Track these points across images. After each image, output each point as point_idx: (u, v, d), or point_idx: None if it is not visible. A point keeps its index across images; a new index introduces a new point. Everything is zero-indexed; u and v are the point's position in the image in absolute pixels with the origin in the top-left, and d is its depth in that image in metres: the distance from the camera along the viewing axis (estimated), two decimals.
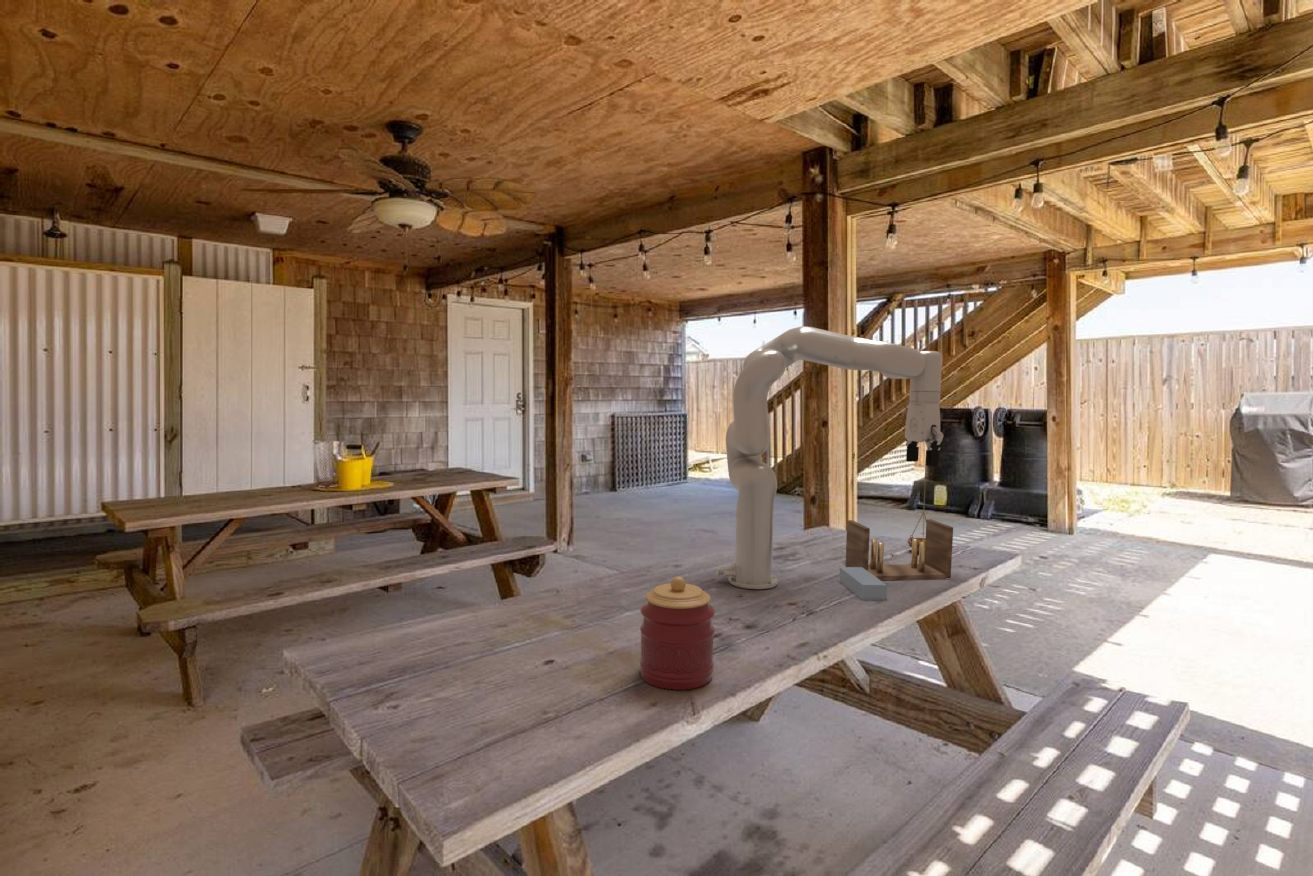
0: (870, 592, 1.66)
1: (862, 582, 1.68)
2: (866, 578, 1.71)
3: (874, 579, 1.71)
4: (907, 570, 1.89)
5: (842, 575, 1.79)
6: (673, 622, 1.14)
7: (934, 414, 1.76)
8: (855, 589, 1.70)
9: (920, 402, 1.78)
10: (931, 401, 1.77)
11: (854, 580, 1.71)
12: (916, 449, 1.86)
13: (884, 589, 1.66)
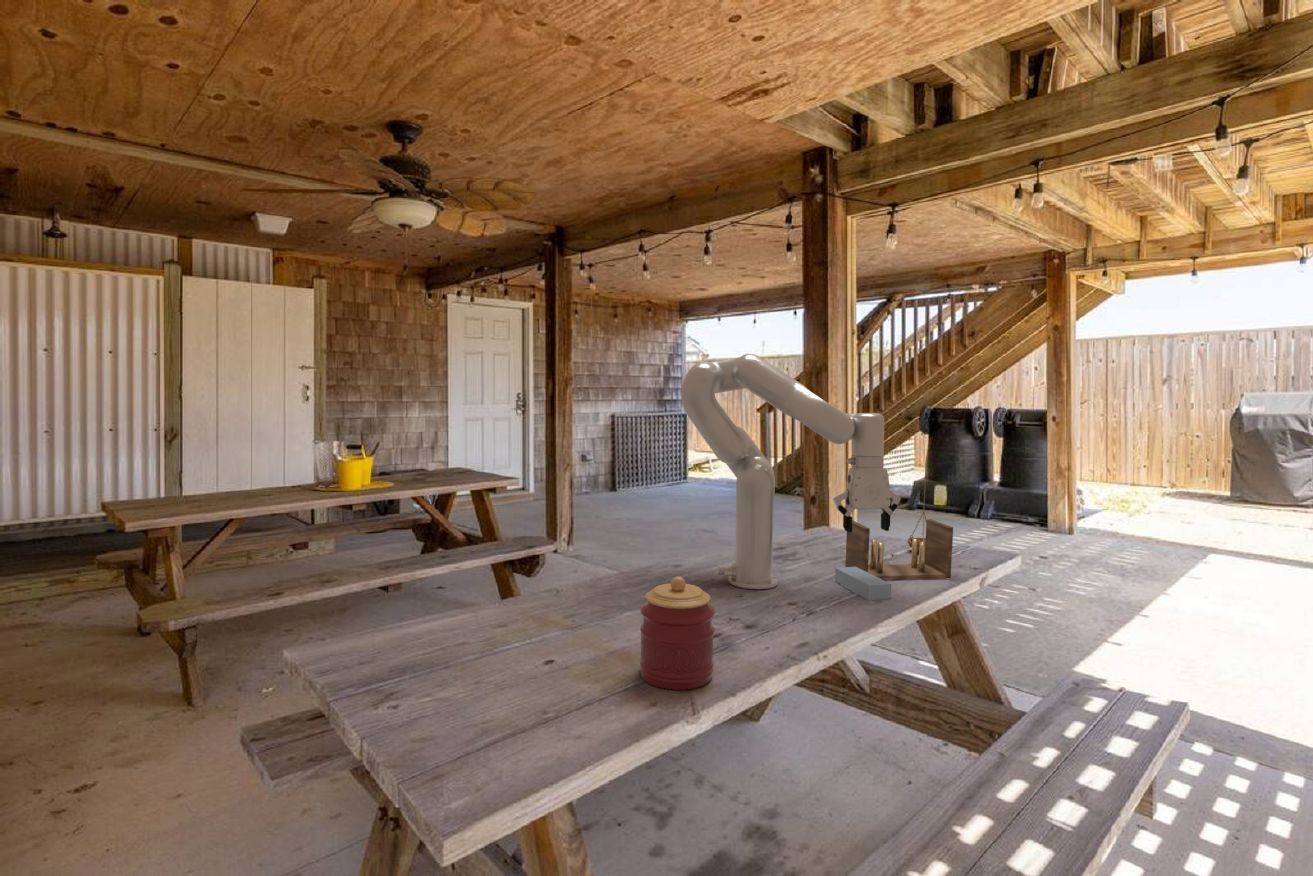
0: (876, 592, 1.66)
1: (866, 582, 1.68)
2: (868, 578, 1.71)
3: (876, 579, 1.71)
4: (907, 570, 1.89)
5: (839, 576, 1.79)
6: (673, 622, 1.14)
7: None
8: (859, 589, 1.70)
9: (882, 467, 1.69)
10: None
11: (857, 581, 1.70)
12: None
13: (889, 588, 1.67)
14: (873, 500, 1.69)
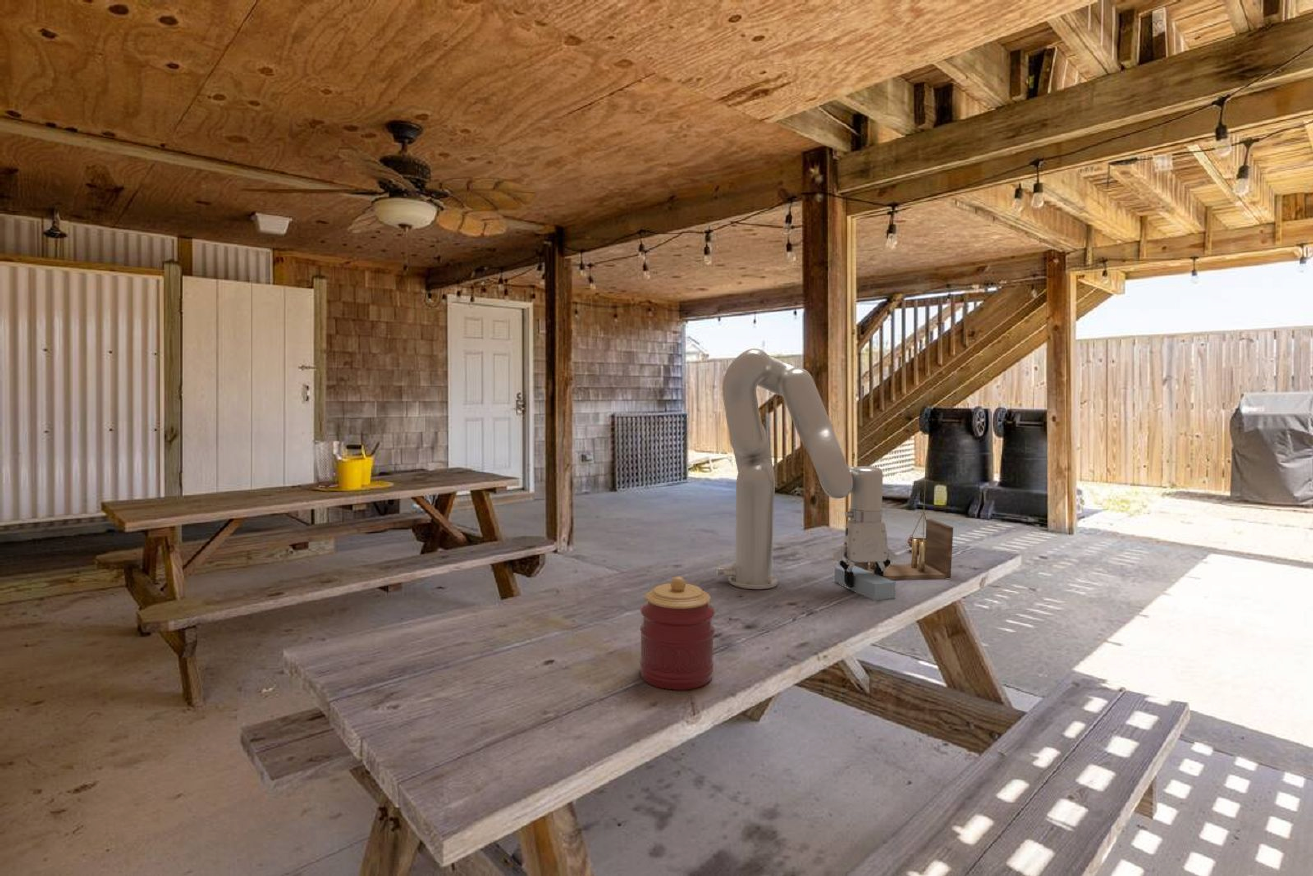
0: (881, 591, 1.66)
1: (871, 581, 1.68)
2: (870, 577, 1.71)
3: (878, 577, 1.71)
4: (907, 570, 1.89)
5: (839, 575, 1.78)
6: (673, 621, 1.14)
7: None
8: (863, 588, 1.69)
9: (880, 521, 1.70)
10: None
11: (860, 580, 1.70)
12: None
13: (893, 586, 1.67)
14: (870, 554, 1.71)
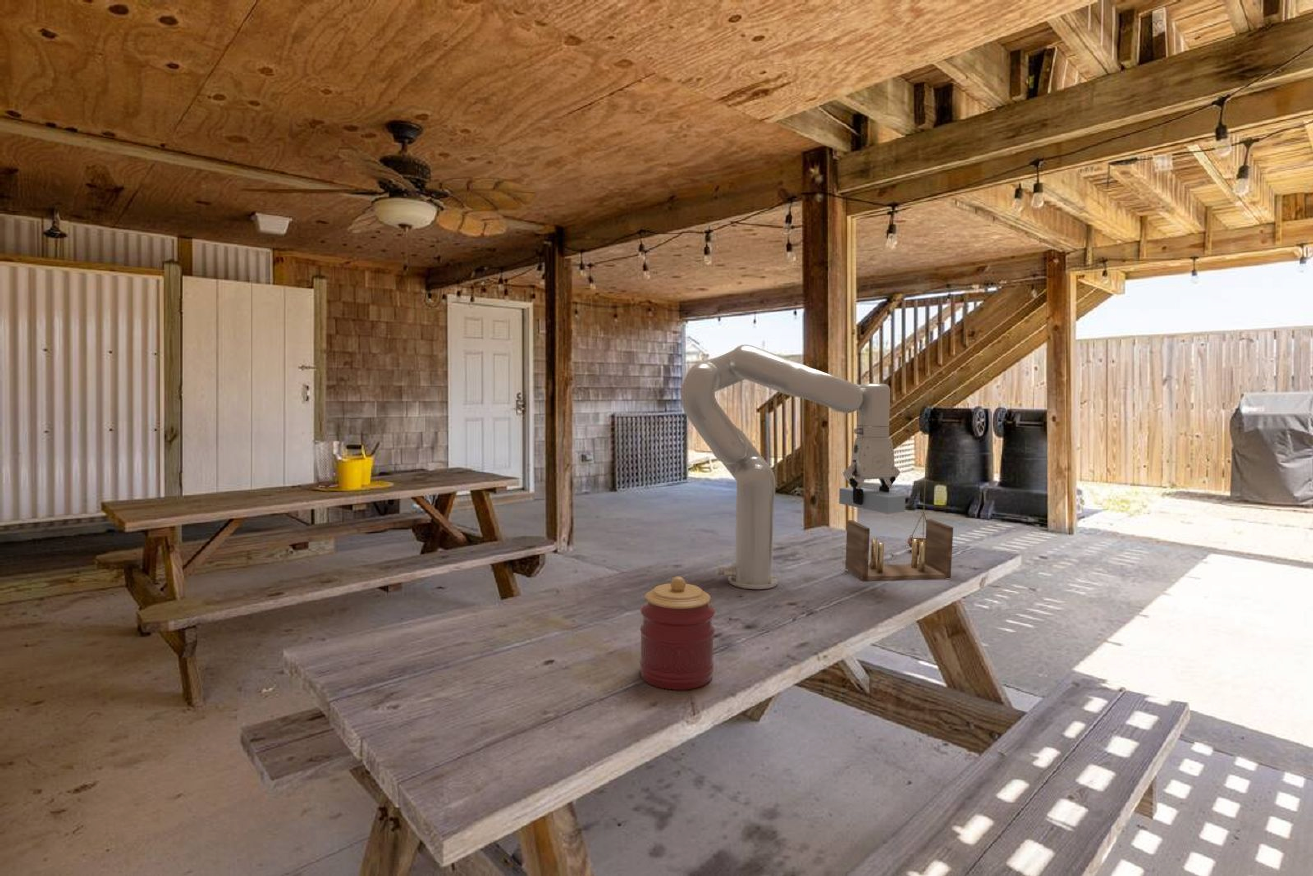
0: (893, 504, 1.67)
1: (882, 495, 1.68)
2: (879, 493, 1.72)
3: (887, 493, 1.72)
4: (907, 570, 1.89)
5: (845, 495, 1.77)
6: (673, 621, 1.14)
7: None
8: (874, 504, 1.69)
9: (888, 437, 1.71)
10: None
11: (871, 496, 1.70)
12: None
13: (904, 500, 1.68)
14: (879, 470, 1.71)
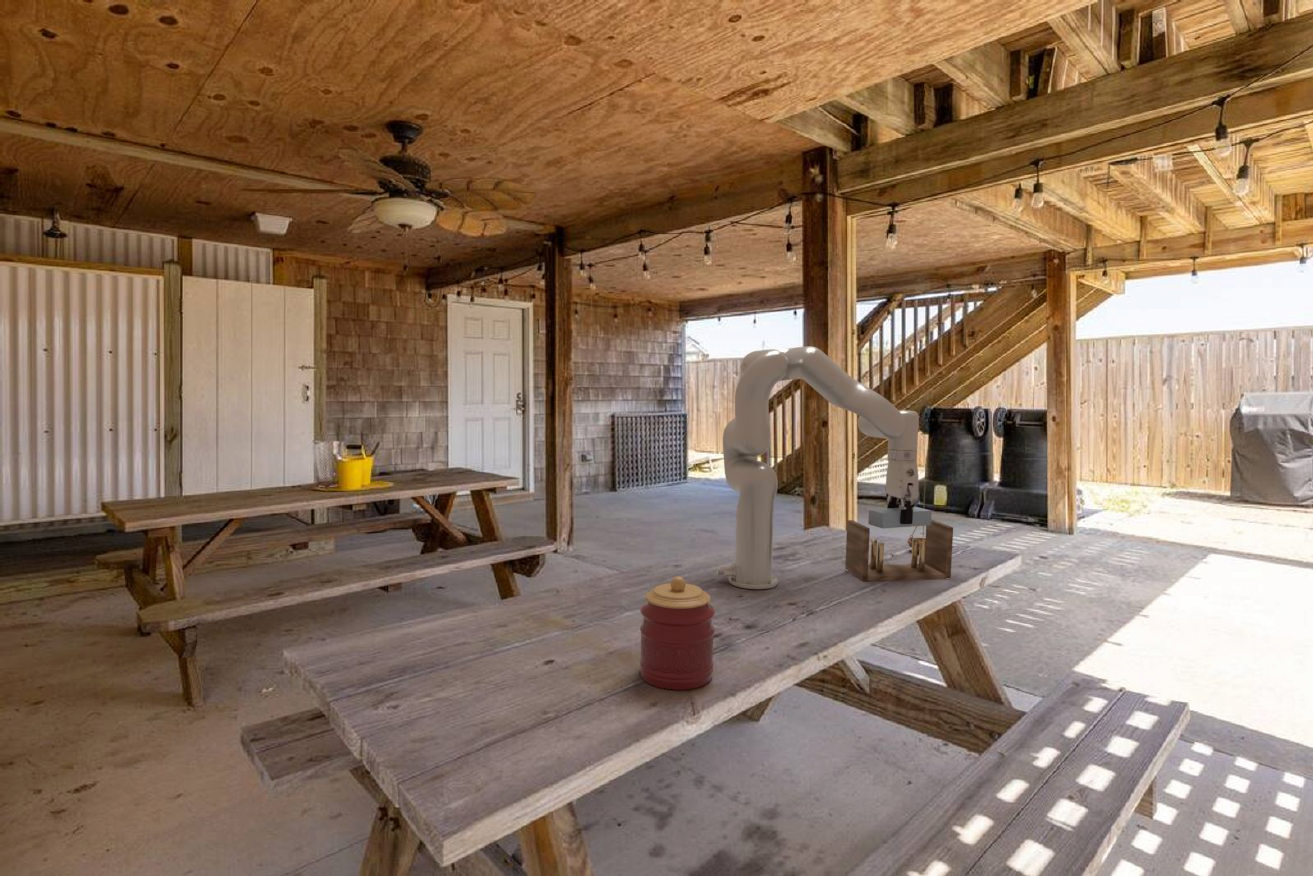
0: None
1: (922, 510, 1.88)
2: None
3: None
4: (907, 570, 1.89)
5: (890, 519, 1.83)
6: (673, 622, 1.14)
7: None
8: (918, 520, 1.86)
9: None
10: None
11: (915, 513, 1.86)
12: None
13: None
14: None
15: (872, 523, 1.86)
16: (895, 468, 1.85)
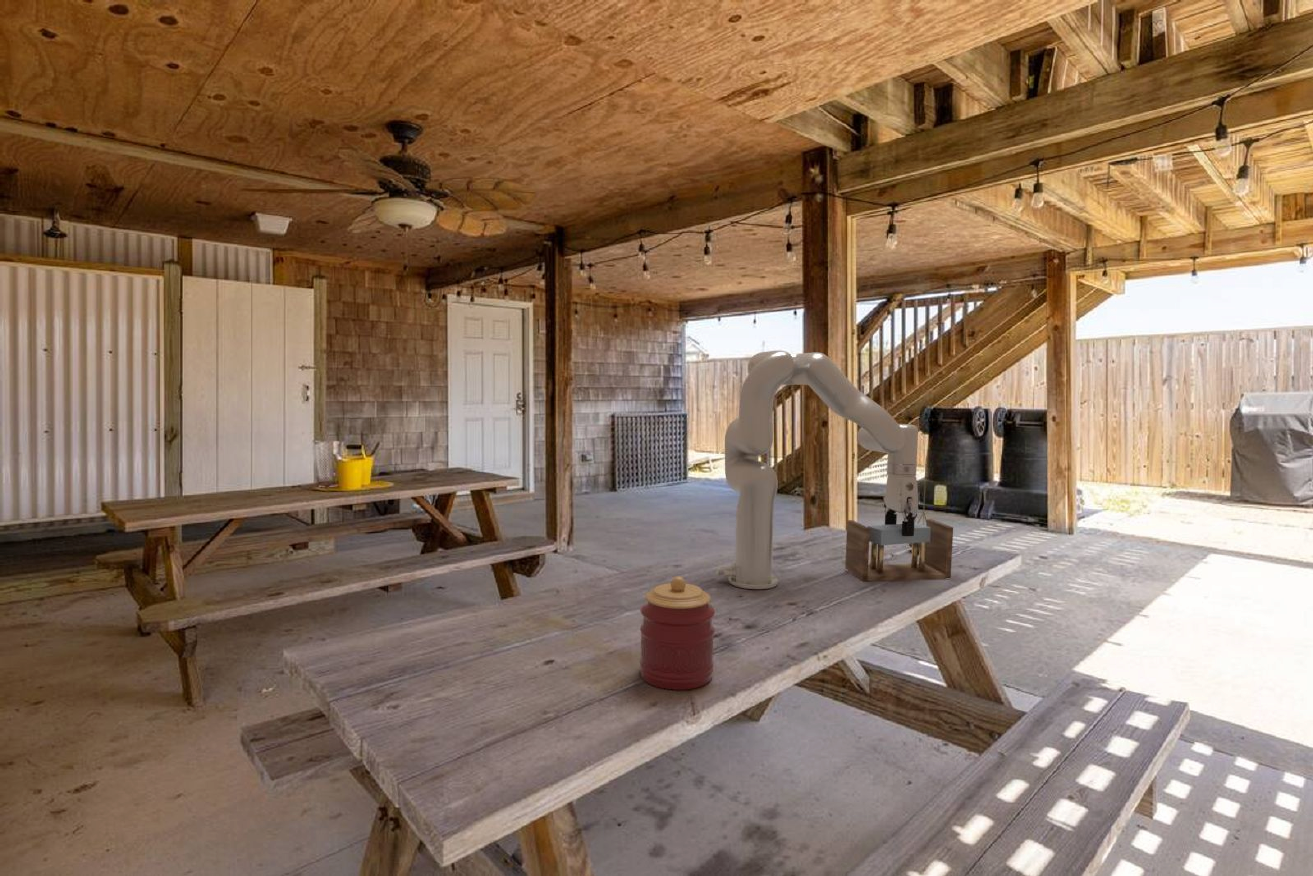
0: None
1: (921, 527, 1.88)
2: None
3: None
4: (907, 570, 1.89)
5: (888, 535, 1.83)
6: (673, 622, 1.14)
7: None
8: (917, 536, 1.87)
9: None
10: None
11: (914, 530, 1.86)
12: None
13: None
14: None
15: (870, 539, 1.87)
16: (895, 482, 1.85)
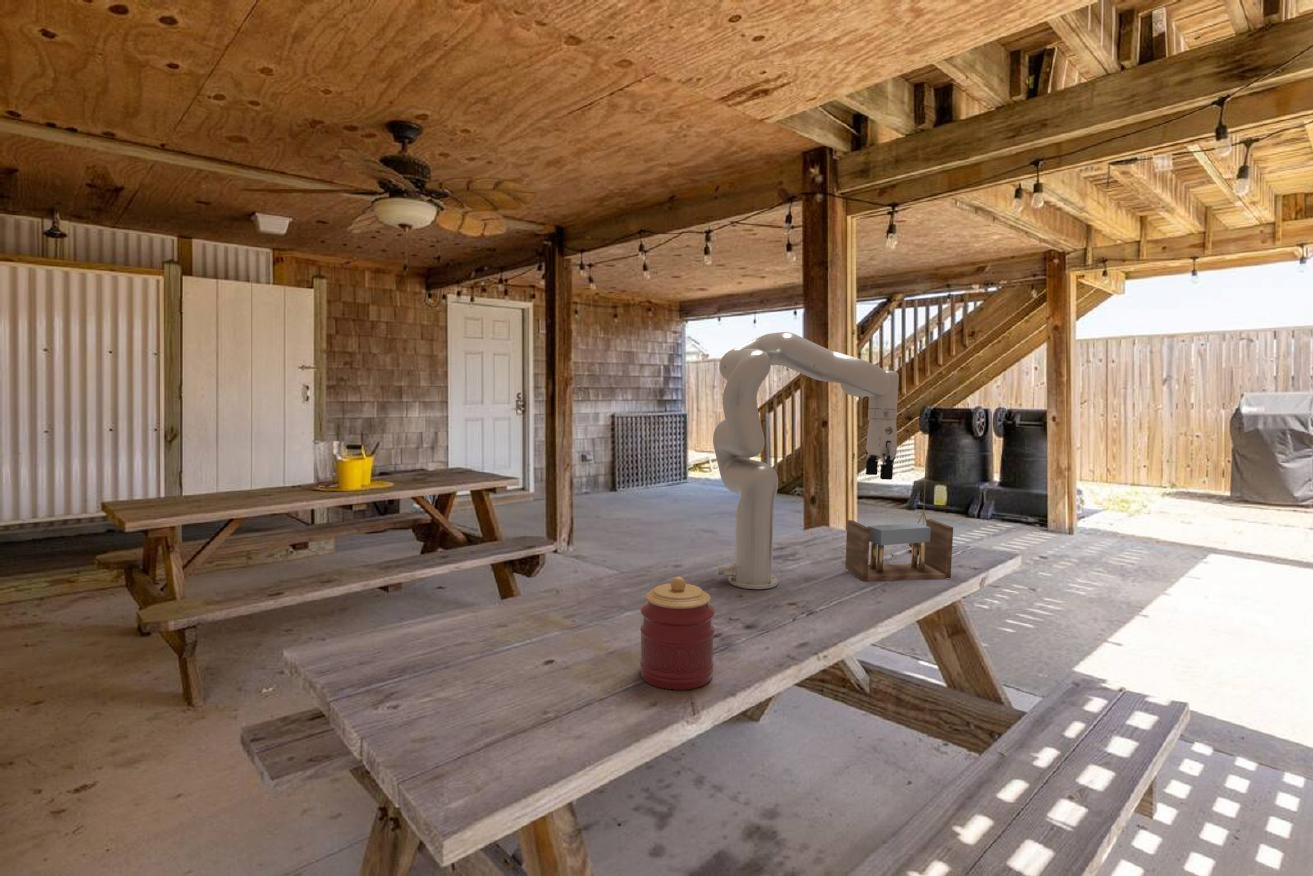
0: None
1: (921, 527, 1.88)
2: (906, 526, 1.89)
3: (905, 524, 1.91)
4: (907, 570, 1.89)
5: (888, 535, 1.83)
6: (673, 621, 1.14)
7: None
8: (917, 536, 1.87)
9: None
10: None
11: (914, 530, 1.86)
12: None
13: None
14: None
15: (870, 539, 1.87)
16: (875, 427, 1.89)
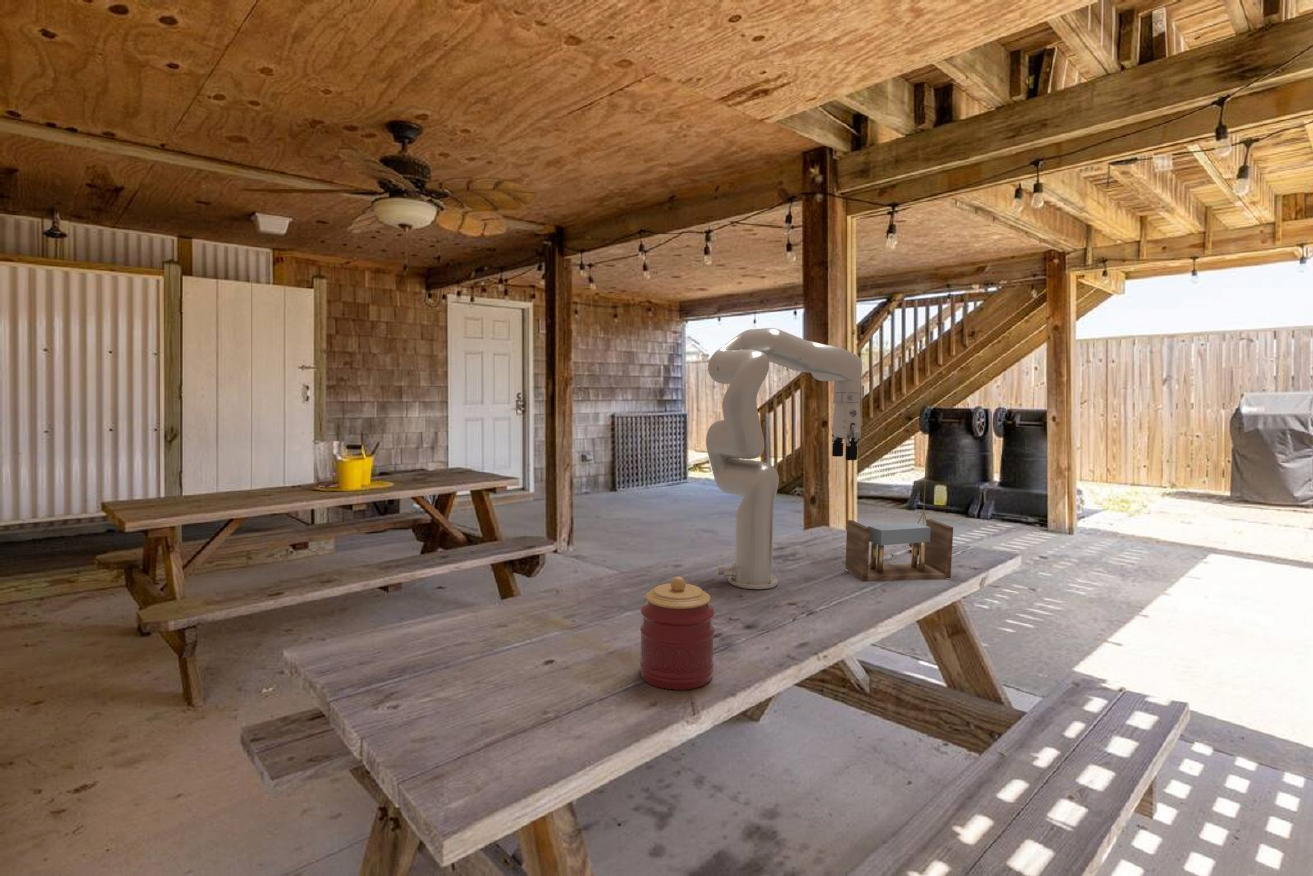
0: None
1: (921, 527, 1.88)
2: (906, 526, 1.89)
3: (905, 524, 1.91)
4: (907, 570, 1.89)
5: (888, 535, 1.83)
6: (673, 621, 1.14)
7: None
8: (917, 536, 1.87)
9: None
10: None
11: (914, 530, 1.86)
12: None
13: None
14: None
15: (870, 539, 1.87)
16: (840, 410, 1.97)
